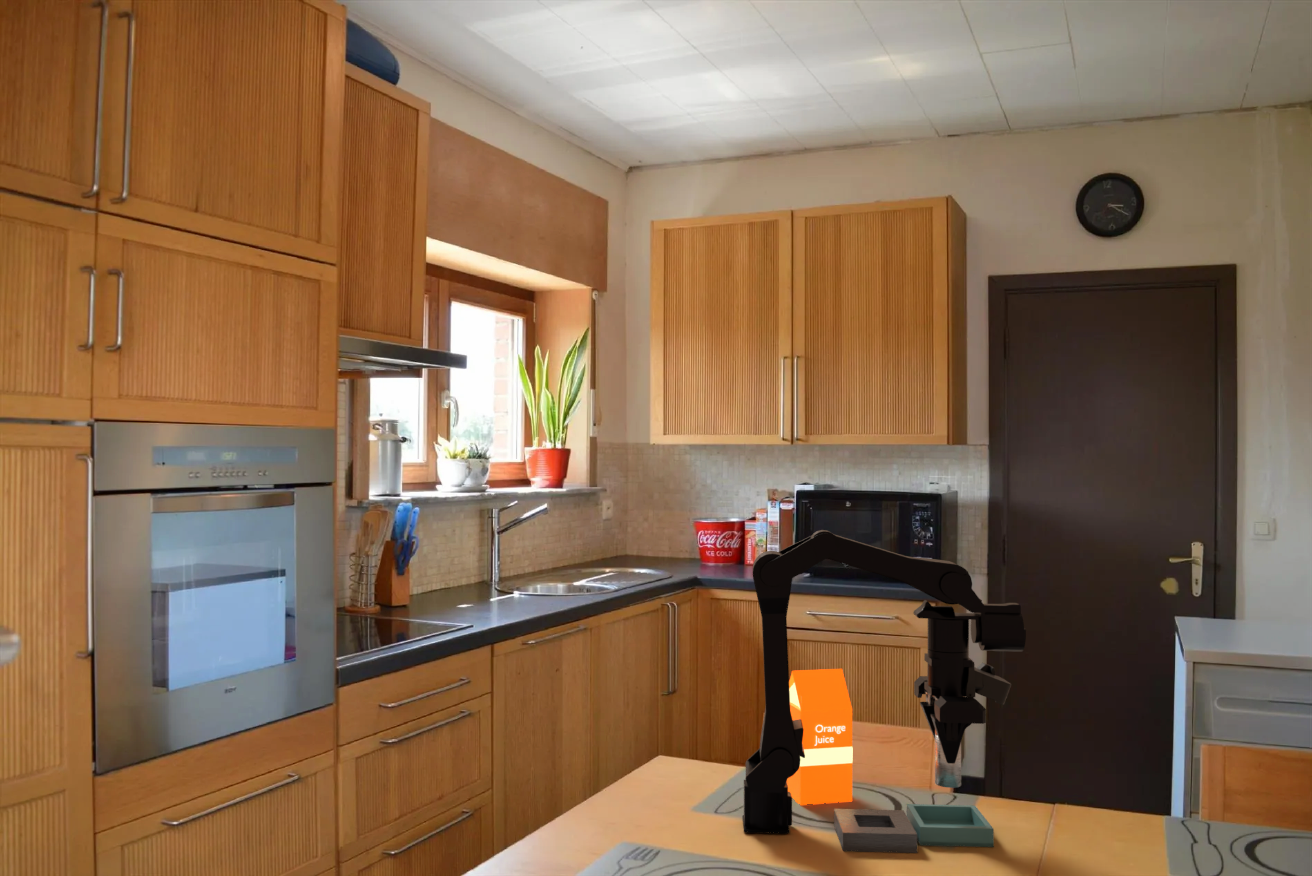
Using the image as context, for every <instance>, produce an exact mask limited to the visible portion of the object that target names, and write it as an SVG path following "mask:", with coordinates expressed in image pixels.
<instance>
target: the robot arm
mask: <svg viewBox="0 0 1312 876" xmlns="http://www.w3.org/2000/svg"><path fill="white" fill-rule="evenodd" d="M825 560H830V561H833V562H837V563H840V564H844V565H846V566H850V567H853V568H856V569H860V570H863V571H867V572H870V573H873V574H876V575H880V576H882V577H886V578H889V579H893V580H895V581H900V582H903V583H904V584H906V585H908V586H911V587H912V588H914V589H916V590H918V591H920V592H921V593H924V594H926V595H928V596H929V597H932V598H934V599H936V600H937V601H939V602H941V603H944V604H946V605H932V604H931V603H930V602H929V601H928V600H926V599H924V600H923V602H922V603H921V605H919V606H918V607H917V608H916V609H914V610H913V615H915V617H916V618H918V619H925V620H926V619H927V653H926V652H925V653H924V660H923V661H925V662H926V663H927V670H926V671H927V673H926V674H927V675H920V676H919V677H917V679H916V680H915V681H914V682H913V685H914V686H913V694H914V696H915V697H916V698H917V699H919V698H920V699H921V698H922V697H923V695H925V701H920V702H919V705H920V707H921V708H922V711H923V713H924V716H925V719H926V721H927V723H928V726H929V729H930V731H931V734H932V736H933V738H934V740H935V729H936V732H937V735H938V738H939V741H940V744H941V747H942V750H943V753H944V756H945V758H946V761H947V763H955V762H956V758H957V755H958V751H959V747H960V744H961V745H962V740H963V737H964V735H965V731H966V729H968V728H969V727H970V726H972V724H973V725H974V724H976V725H977V724H978V725H979V724H981V725H982V724H986V723H987V708H985V706H984V705H982V704H981V703H980V701H978V700H977V699H976V694H978V695H980V696H983V697H985V698H987V699H990V700H993V701H995V703H996V704H999V705H1005V703H1006V699H1007V698H1008V695H1009V693H1010V690H1011V687H1012V683H1011V682H1009V681H1008V680H1006V679H1005V678H1003V677H1000V676H999V675H996V669H995V667H993V666H992V665H990V664H987V663H985V662H981V663H980V664H979V665H978V666H977V667H976V666H975V661H974V660H973V659H972V658H970V657H969V656H970V655H969V654H970V651H969V650H970V648H969V647H970V646H969V645H970V639H971V641H972V643H973V644H978V647H979V649H980V651H984V652H985V651H986V652H987V651H989V652H990V651H993V652H1023V651H1024V649H1025V647H1026V640H1027V630H1026V628H1025V623H1024V619H1023V615H1022V609H1021V608H1022V605H1020V603H1017V602H1006V603H983V602H982V599H981V598H979V596H978V595H977V593H976V592H975V591H974V590H973V581H972V577H971V575H970V573H969V571H968V570H967V569H966V568H964V567H963V566H961V565H959V564H957V563H955V562H953V561H949V560H943V559H935V558H930V557H929V558H928V557H917V556H915V557H914V556H907V555H904V554H899V553H896V552H893V551H889V550H887V549H884V548H880V547H876V546H873V545H870V544H867V543H864V542H860V541H857V540H854V539H851V538H847V537H844V536H840V535H837V534H834V533H832V531H829V530H826V529H825V530H824V529H821V530H820V529H819V530H817V531H815V532H814V533H813V534H812V535H809V536H808V537H806V538H804V539H802V540H800V541H798V542H795V543H793V544H790V545H789V546H787V547H785V548H783V549H781V550H780V551H777V550H767V551H763V552H762V553H760V554H759V555H758V556H757V557H756V558H755V559H754V561H753V565H752V579H753V584H754V588H755V593H756V596H757V598H756V599H757V603H758V607H759V610H760V616H761V627H762V631H761V632H762V651H763V674H764V675H763V676H764V678H763V679H764V700H765V701H764V702H765V704H764V705H765V708H764V714H763V720H762V727H761V733H760V742H759V748H758V749H757V750H755V752H754V753H753V754H752V755H751V756H750V757H748V759H746V761H745V779H743V815H742V818H741V819H742V829H743V833H747V834H784V835H785V834H786V835H787V834H790V827H791V826H792V825H793V799H792V796H791V793H790V792H789V791H788V785H787V779H788V778H789V777H791V776H793V775H794V774H795V773H796V772H797V771H798V769H799V767H800V756H801V757H803V758H805V753H804V748H803V744H802V740H803V731H804V729H803V724H802V720H801V719H798V720H792V715H791V711H790V691H789V681H790V673H789V672H790V669H789V647H788V644H789V643H788V623H787V619H788V618H787V616H788V609H789V604H790V598H791V590H792V583H793V579H794V578H795V577H797V576H800V575H801V574H803V573H804V572H806V571H808V570H810V569H811V568H813V567H814V566H816V565H818V564H819V563H821V562H822V561H825ZM949 605H950V606H949ZM951 605H952V606H951ZM953 605H959V606H960V607H962V608H964V609H965V610H967V611H969V612H956V611H955V610H954V607H953ZM969 631H970V632H969ZM969 633H970V635H969ZM969 636H970V637H971V638H970V637H969Z"/></svg>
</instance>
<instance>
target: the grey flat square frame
mask: <svg viewBox="0 0 1312 876" xmlns="http://www.w3.org/2000/svg"><path fill="white" fill-rule="evenodd" d="M833 826H834V829H835V833H836V836H837V838H838V841H839V844H840V847H841V849H842V852H865V853H866V852H867V853H900V854H901V853H904V854H918V840H917V833H916V831H915V830H914V828H913V826H912V824H911V823H910V821H909V819H908V817H907V813H906V812H905V811H904V810H903V809H902V810H900V809H898V810H897V809H863V808H861V809H857V808H854V809H853V808H833Z"/></svg>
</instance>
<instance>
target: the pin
mask: <svg viewBox="0 0 1312 876" xmlns="http://www.w3.org/2000/svg"><path fill="white" fill-rule="evenodd" d="M934 784H935V786H938V787H941V788H950V789H951V788H952V789H953V788H954V789H955V788H959V787H961V786H962V743H961V744H960V747H959V751H958V755H957V758H956V762H955V763H947V761H946V758H945V756H944V753H943V750H942V747H941V744H940V741H939V738H938V735H937V732H936V729H935V739H934Z"/></svg>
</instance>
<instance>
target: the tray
mask: <svg viewBox="0 0 1312 876" xmlns="http://www.w3.org/2000/svg"><path fill="white" fill-rule="evenodd" d="M906 816H907V817H908V819H909V821H910V823H911V824H912V826H913V828H914V830H915V831H916V833H917V843H918V844H919V845H920V846H933V847H934V846H935V847H938V846H939V847H968V848H969V847H971V848H972V847H975V848H977V847H978V848H982V847H983V848H994V844H995V843H994V840H995V839H994V834H995V833H994V827H993V826H992V825H991V823H990V822H989V821H988V820H987V818H986V817H985V816H984V815H983V813H982V812H981V811H980V810H979V809H978V807H977V806H976V805H970V804H969V805H968V804H966V805H964V804H932V803H931V804H930V803H929V804H926V803H925V804H924V803H923V804H922V803H921V804H920V803H906Z"/></svg>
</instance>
